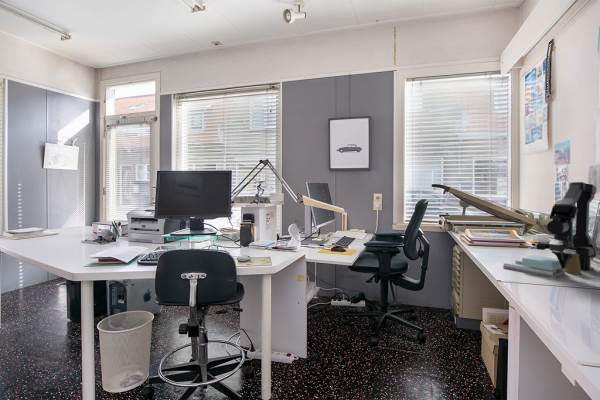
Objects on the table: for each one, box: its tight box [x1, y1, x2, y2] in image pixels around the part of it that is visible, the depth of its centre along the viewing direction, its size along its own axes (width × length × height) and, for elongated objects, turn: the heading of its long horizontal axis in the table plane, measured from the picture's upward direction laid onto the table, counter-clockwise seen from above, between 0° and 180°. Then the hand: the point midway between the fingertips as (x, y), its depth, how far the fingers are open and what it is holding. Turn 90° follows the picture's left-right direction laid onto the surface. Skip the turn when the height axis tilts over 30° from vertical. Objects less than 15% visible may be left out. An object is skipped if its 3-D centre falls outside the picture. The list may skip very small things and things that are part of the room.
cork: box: [565, 254, 582, 275], centre depth 148 cm, size 6×6×11 cm
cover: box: [521, 255, 562, 271], centre depth 149 cm, size 12×12×4 cm
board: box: [502, 259, 565, 278], centre depth 152 cm, size 12×20×2 cm, turn 30°
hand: (563, 268), depth 142 cm, fingers closed
